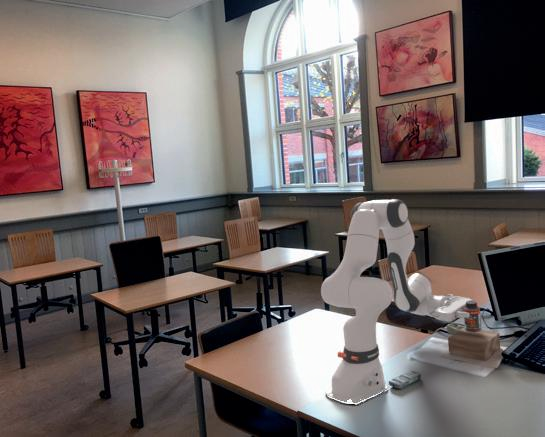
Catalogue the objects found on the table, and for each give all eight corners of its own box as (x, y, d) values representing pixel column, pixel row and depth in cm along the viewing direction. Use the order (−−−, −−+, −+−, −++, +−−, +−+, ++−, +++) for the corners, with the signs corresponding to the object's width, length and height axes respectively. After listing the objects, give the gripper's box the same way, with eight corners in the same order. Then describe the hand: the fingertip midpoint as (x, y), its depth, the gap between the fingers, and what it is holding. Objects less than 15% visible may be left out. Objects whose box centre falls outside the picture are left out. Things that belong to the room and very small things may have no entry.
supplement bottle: (464, 332, 188) (461, 304, 187) (465, 327, 193) (463, 299, 192) (481, 333, 185) (478, 304, 184) (482, 327, 191) (479, 299, 189)
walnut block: (485, 360, 180) (483, 345, 180) (449, 352, 191) (447, 338, 190) (500, 347, 190) (499, 332, 189) (465, 341, 200) (464, 326, 199)
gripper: (426, 307, 191) (461, 312, 181) (451, 292, 204) (484, 297, 194) (428, 322, 191) (462, 328, 181) (452, 307, 205) (485, 312, 195)
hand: (474, 312), depth 188 cm, fingers closed on supplement bottle, 6 cm apart
